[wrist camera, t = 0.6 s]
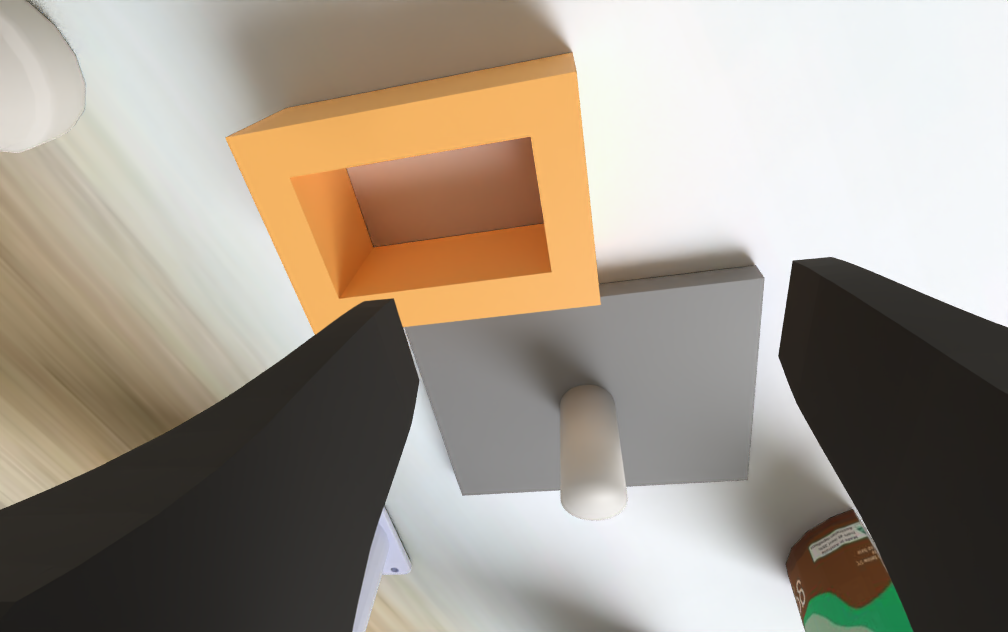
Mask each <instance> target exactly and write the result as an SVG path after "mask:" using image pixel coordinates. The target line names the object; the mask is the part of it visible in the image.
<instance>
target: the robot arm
mask: <svg viewBox="0 0 1008 632" xmlns="http://www.w3.org/2000/svg"><path fill="white" fill-rule="evenodd" d="M778 356H779V359H780V362H781V364H782V367H783V370H784V373H785V375H786V378H787V381H788V383H789V386H790V388H791V391H792V393H793V396H794V398H795V401H796V403H797V405H798V407H799V409H800V410H801V412H802V414H803V416H804V418H805V419H806V421H807V423H808V425H809V427H810V428H811V430H812V432H813V434H814V435H815V437H816V439H817V441H818V442H819V444H820V446H821V448H822V449H823V451H824V453H825V455H826V456H827V458H828V460H829V461H830V463H831V465H832V467H833V468H834V470H835V472H836V474H837V475H838V477H839V479H840V481H841V482H842V484H843V486H844V487H845V489H846V491H847V493H848V494H849V496H850V498H851V500H852V501H853V503H854V505H855V507H856V508H857V510H858V512H859V513H860V515H861V517H862V519H863V521H864V523H865V525H866V527H867V529H868V531H869V533H870V534H871V536H872V538H873V540H874V542H875V544H876V547H877V549H878V551H879V553H880V556H881V558H882V560H883V562H884V565H885V567H886V569H887V571H888V574H889V576H890V578H891V581H892V583H893V585H894V587H895V590H896V592H897V594H898V596H899V599H900V601H901V603H902V606H903V608H904V610H905V613H906V615H907V618H908V620H909V623H910V625H911V627H912V630H913V632H1008V327H1005V326H1002V325H1000V324H997V323H994V322H991V321H989V320H986V319H984V318H981V317H979V316H976V315H974V314H971V313H969V312H966V311H964V310H961V309H959V308H956V307H954V306H952V305H949V304H947V303H944V302H942V301H940V300H937V299H935V298H932V297H930V296H928V295H925V294H923V293H921V292H918V291H916V290H914V289H911V288H909V287H907V286H904V285H902V284H900V283H897V282H895V281H893V280H890V279H888V278H886V277H883V276H881V275H878V274H876V273H874V272H871V271H869V270H866V269H864V268H861V267H859V266H856V265H854V264H851V263H848V262H846V261H843V260H840V259H836V258H833V257H827V258H816V259H805V260H795V261H793V262H792V269H791V275H790V282H789V289H788V295H787V302H786V309H785V315H784V322H783V328H782V335H781V342H780V348H779V355H778ZM418 385H419V378H418V375H417V371H416V368H415V365H414V362H413V359H412V355H411V352H410V349H409V346H408V342H407V339H406V336H405V333H404V330H403V326H402V323H401V320H400V317H399V314H398V310H397V307H396V304H395V301H394V298H391V299H381V300H370V301H363V302H362V303H360V304H358V305H356V306H355V307H353V308H352V309H350V310H349V311H347V312H346V313H344V314H343V315H341V316H340V317H339V318H337V319H336V320H335V321H333V322H332V323H330V324H329V325H328V326H326V327H325V328H324V329H322V330H321V331H320V332H318V333H317V334H316V335H314V336H313V337H312V338H310V339H309V340H308V341H306V342H305V343H304V344H302V345H301V346H299V347H298V348H297V349H295V350H294V351H293V352H291V353H290V354H289V355H287V356H286V357H285V358H283V359H282V360H280V361H279V362H277V363H276V364H275V365H273V366H272V367H270V368H269V369H267V370H266V371H264V372H263V373H262V374H260V375H259V376H257V377H256V378H254V379H253V380H251V381H250V382H248V383H247V384H246V385H244V386H243V387H241V388H240V389H238V390H237V391H235V392H234V393H232V394H231V395H229V396H228V397H226V398H224V399H223V400H221V401H220V402H218V403H216V404H215V405H213V406H212V407H210V408H208V409H207V410H205V411H203V412H201V413H200V414H198V415H196V416H195V417H193V418H191V419H189V420H188V421H186V422H184V423H182V424H181V425H179V426H177V427H175V428H174V429H172V430H170V431H168V432H166V433H165V434H163V435H161V436H159V437H157V438H155V439H153V440H151V441H149V442H147V443H145V444H143V445H141V446H139V447H137V448H135V449H133V450H131V451H129V452H127V453H125V454H123V455H121V456H119V457H117V458H115V459H113V460H111V461H109V462H107V463H106V464H104V465H102V466H100V467H97V468H95V469H93V470H91V471H89V472H87V473H84V474H82V475H80V476H78V477H76V478H73V479H71V480H69V481H67V482H65V483H62V484H60V485H58V486H56V487H54V488H51V489H49V490H46V491H44V492H42V493H39V494H37V495H35V496H32V497H30V498H28V499H25V500H23V501H21V502H18V503H16V504H13V505H11V506H9V507H6V508H4V509H1V510H0V632H365V631H366V627H367V624H368V621H369V617H370V614H371V610H372V607H373V603H374V600H375V597H376V593H377V590H378V586H379V583H380V579H381V576H382V575H390V574H407V573H409V572H410V571H411V567H412V565H411V562H410V560H409V558H408V556H407V554H406V552H405V549H404V547H403V545H402V543H401V541H400V539H399V537H398V534H397V532H396V530H395V528H394V526H393V524H392V522H391V520H390V517H389V515H388V513H387V511H386V509H385V507H384V505H385V502H386V499H387V496H388V493H389V490H390V487H391V484H392V481H393V478H394V475H395V472H396V469H397V467H398V464H399V461H400V458H401V455H402V452H403V449H404V446H405V443H406V440H407V437H408V433H409V430H410V427H411V424H412V419H413V414H414V409H415V403H416V397H417V391H418Z"/></svg>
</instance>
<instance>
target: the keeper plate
mask: <svg viewBox="0 0 1008 632" xmlns="http://www.w3.org/2000/svg"><path fill="white" fill-rule="evenodd" d="M763 290H764V277H763V275H762V274H761V272H760V271H759V269H758V268H757V266H756V265H755V266H747V267H738V268H730V269H722V270H713V271H705V272H696V273H688V274H680V275H671V276H663V277H655V278H646V279H638V280H629V281H621V282H613V283H604V284H599V292H600V302H601V305H596V306H587V307H578V308H569V309H560V310H551V311H542V312H534V313H525V314H516V315H507V316H498V317H489V318H480V319H471V320H463V321H454V322H445V323H436V324H427V325H418V326H409V327H405V330H406V333H407V336H408V338H409V341H410V344H411V347H412V350H413V353H414V356H415V359H416V362H417V365H418V368H419V371H420V373H421V376H422V379H423V382H424V385H425V388H426V391H427V394H428V397H429V400H430V403H431V406H432V408H433V411H434V414H435V417H436V420H437V423H438V426H439V429H440V432H441V435H442V438H443V440H444V443H445V446H446V449H447V452H448V455H449V458H450V461H451V464H452V467H453V470H454V473H455V475H456V478H457V481H458V484H459V487H460V490H461V493H462V496H463V495H481V494H500V493H518V492H536V491H555V490H561V503H562V506H563V507H564V509H565V510H566V511H567V512H568V513H570V514H571V515H573V516H575V517H577V518H580V519H584V520H591V521H599V520H606V519H609V518H612V517H614V516H616V515H618V514H619V513H621V512H622V511H623V510H624V508H625V507H626V505H627V501H628V498H627V490H626V487H628V486H646V485H665V484H683V483H701V482H719V481H738V480H747V479H748V467H749V455H750V443H751V431H752V420H753V408H754V396H755V384H756V372H757V361H758V349H759V337H760V325H761V313H762V301H763Z"/></svg>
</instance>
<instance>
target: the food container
mask: <svg viewBox="0 0 1008 632" xmlns="http://www.w3.org/2000/svg"><path fill="white" fill-rule="evenodd" d="M786 567H787V572H788V577H789V580H790V583H791V586H792V590H793V593H794V596H795V600H796V603H797V606H798V609H799V613H800V616H801V619H802V623H803V626H804V629H805V632H913V630H912V627H911V625H910V623H909V620H908V618H907V615H906V613H905V610H904V608H903V606H902V603H901V601H900V599H899V596H898V594H897V592H896V590H895V587H894V585H893V583H892V581H891V578H890V576H889V574H888V571H887V569H886V567H885V565H884V562H883V560H882V558H881V556H880V553H879V551H878V549H877V547H876V545H875V543H874V541H873V540H872V538H871V537H870V535H869V534H868V532H867V530H866V529H865V527H864V526H863V524H862V523H861V521H860V519H859V518H858V516H857V515H856V513H855V512H854V510H853V509H852V510H849V511H847V512H844V513H841V514H839V515H836V516H833V517H831V518H829V519H827V520H826V521H824V522H822V523H821V524H819V525H817V526H816V527H814V528H812V529H811V530H809V531H807V532H806V533H805V534H804V535H803V536H802V537H801V539H800V540H799V541H798V542H797V543H796V544H795V545H794V546H793V547H792V548H791V551H790V554H789V557H788V559H787V562H786Z"/></svg>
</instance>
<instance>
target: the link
mask: <svg viewBox="0 0 1008 632" xmlns="http://www.w3.org/2000/svg"><path fill="white" fill-rule="evenodd" d="M526 137H531V142H532V149H533V155H534V162H535V168H536V174H537V181H538V187H539V194H540V200H541V207H542V213H543V219H544V223H543V224H536V225H529V226H522V227H515V228H508V229H501V230H494V231H487V232H480V233H473V234H465V235H458V236H451V237H444V238H437V239H430V240H423V241H416V242H409V243H402V244H395V245H388V246H380V247H373V245H372V242H371V239H370V236H369V233H368V230H367V228H366V225H365V222H364V219H363V216H362V213H361V210H360V207H359V204H358V202H357V199H356V196H355V193H354V190H353V187H352V184H351V181H350V179H349V176H348V173H347V170H346V168H349V167H355V166H361V165H367V164H373V163H379V162H385V161H390V160H396V159H402V158H408V157H414V156H420V155H426V154H432V153H438V152H443V151H449V150H455V149H461V148H467V147H473V146H479V145H485V144H490V143H496V142H502V141H508V140H514V139H520V138H526ZM226 140H227V143H228V145H229V147H230V149H231V151H232V154H233V156H234V158H235V160H236V162H237V165H238V167H239V169H240V171H241V173H242V176H243V178H244V180H245V182H246V184H247V187H248V189H249V191H250V193H251V195H252V198H253V200H254V202H255V204H256V206H257V209H258V211H259V213H260V215H261V217H262V220H263V222H264V224H265V226H266V228H267V231H268V233H269V235H270V237H271V239H272V242H273V244H274V246H275V248H276V250H277V253H278V255H279V257H280V259H281V261H282V263H283V266H284V268H285V270H286V272H287V274H288V277H289V279H290V281H291V283H292V285H293V288H294V290H295V292H296V294H297V296H298V299H299V301H300V303H301V305H302V307H303V310H304V312H305V314H306V316H307V318H308V321H309V323H310V325H311V327H312V329H313V332H314V334H315V335H316V334H317V333H318V332H320V331H321V330H322V329H324V328H325V327H326V326H328V325H329V324H330V323H332V322H333V321H335V320H336V319H337V318H339V317H340V316H341V315H343V314H344V313H346V312H347V311H349V310H350V309H352V308H353V307H355V306H356V305H358V304H360V303H362V302H363V301H370V300H381V299H391V298H394V301H395V304H396V307H397V310H398V314H399V317H400V320H401V323H402V326H403V327H409V326H418V325H427V324H436V323H445V322H454V321H463V320H471V319H480V318H489V317H498V316H507V315H516V314H525V313H534V312H542V311H551V310H560V309H569V308H578V307H587V306H596V305H601V302H600V292H599V282H598V273H597V263H596V254H595V244H594V235H593V225H592V215H591V206H590V196H589V187H588V177H587V167H586V158H585V148H584V139H583V129H582V120H581V110H580V100H579V91H578V81H577V72H576V67H575V62H574V57H573V52H571V53H566V54H561V55H556V56H551V57H546V58H541V59H535V60H530V61H525V62H520V63H515V64H510V65H505V66H500V67H494V68H489V69H484V70H479V71H474V72H469V73H464V74H458V75H453V76H448V77H443V78H438V79H433V80H428V81H423V82H417V83H412V84H407V85H402V86H397V87H392V88H387V89H381V90H376V91H371V92H366V93H361V94H356V95H351V96H346V97H340V98H335V99H330V100H325V101H320V102H315V103H310V104H305V105H299V106H294V107H289V108H285V109H283V110H281V111H279V112H277V113H275V114H273V115H271V116H269V117H267V118H265V119H262V120H260V121H258V122H256V123H254V124H252V125H250V126H248V127H246V128H244V129H242V130H240V131H238V132H236V133H234V134H232V135H230V136H228V137H226Z"/></svg>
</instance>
